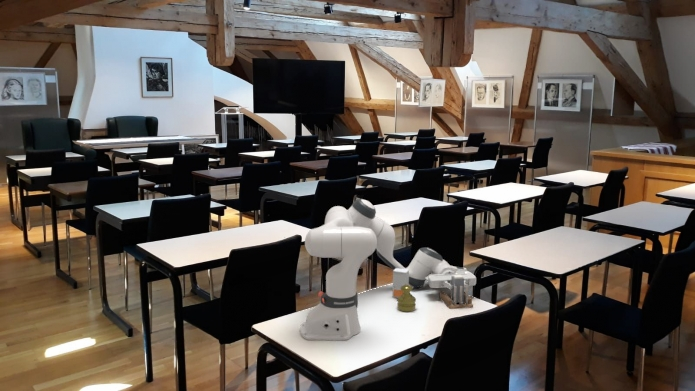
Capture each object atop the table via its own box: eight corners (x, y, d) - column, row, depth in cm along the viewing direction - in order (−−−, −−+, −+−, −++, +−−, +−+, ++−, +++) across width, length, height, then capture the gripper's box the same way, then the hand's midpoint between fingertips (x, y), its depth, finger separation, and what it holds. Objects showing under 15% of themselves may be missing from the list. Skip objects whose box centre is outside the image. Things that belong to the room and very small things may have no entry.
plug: (454, 302, 233) (454, 277, 231) (450, 299, 236) (451, 274, 234) (463, 301, 233) (464, 277, 231) (460, 298, 237) (460, 274, 235)
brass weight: (414, 312, 226) (415, 289, 224) (395, 311, 227) (396, 287, 225) (416, 305, 233) (416, 282, 231) (398, 304, 234) (398, 281, 232)
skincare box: (392, 297, 242) (392, 270, 240) (395, 294, 246) (395, 267, 244) (405, 299, 240) (406, 272, 237) (408, 296, 243) (409, 269, 241)
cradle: (449, 309, 229) (450, 287, 228) (440, 298, 241) (440, 278, 239) (473, 307, 231) (474, 286, 229) (462, 297, 242) (463, 276, 240)
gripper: (423, 270, 244) (433, 281, 231) (469, 267, 247) (481, 278, 234) (423, 284, 245) (433, 295, 232) (468, 281, 249) (480, 292, 235)
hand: (458, 286), depth 233 cm, fingers closed on plug, 4 cm apart
